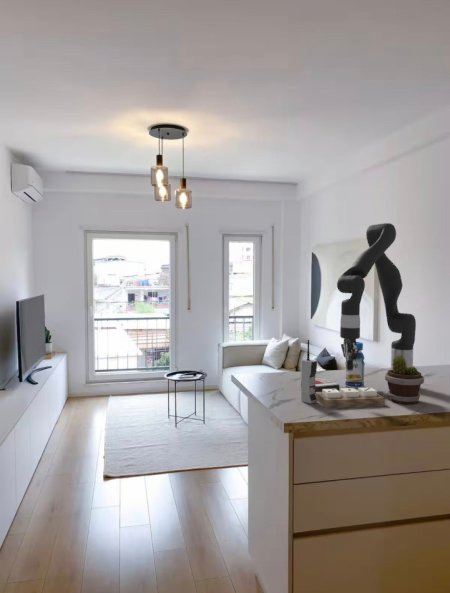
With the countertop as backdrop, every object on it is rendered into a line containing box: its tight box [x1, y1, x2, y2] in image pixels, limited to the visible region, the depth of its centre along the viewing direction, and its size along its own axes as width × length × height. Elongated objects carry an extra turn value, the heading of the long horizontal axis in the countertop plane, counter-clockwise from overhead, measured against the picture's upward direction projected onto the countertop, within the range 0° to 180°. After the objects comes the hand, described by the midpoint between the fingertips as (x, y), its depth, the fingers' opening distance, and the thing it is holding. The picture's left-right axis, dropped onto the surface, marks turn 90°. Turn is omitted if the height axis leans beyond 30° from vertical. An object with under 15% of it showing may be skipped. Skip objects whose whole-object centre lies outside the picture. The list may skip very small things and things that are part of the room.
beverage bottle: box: [344, 341, 366, 389], centre depth 208 cm, size 8×8×20 cm
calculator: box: [315, 377, 341, 392], centre depth 204 cm, size 11×4×15 cm
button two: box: [322, 389, 341, 398], centre depth 182 cm, size 6×6×3 cm
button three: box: [357, 387, 378, 397], centre depth 184 cm, size 6×6×2 cm
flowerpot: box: [384, 354, 425, 405], centre depth 185 cm, size 14×15×20 cm
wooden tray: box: [315, 391, 386, 409], centre depth 184 cm, size 24×12×3 cm, turn 98°
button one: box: [340, 387, 359, 397], centre depth 183 cm, size 6×6×3 cm
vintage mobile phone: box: [300, 339, 318, 405], centre depth 184 cm, size 4×5×25 cm
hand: (349, 369), depth 183 cm, fingers closed
